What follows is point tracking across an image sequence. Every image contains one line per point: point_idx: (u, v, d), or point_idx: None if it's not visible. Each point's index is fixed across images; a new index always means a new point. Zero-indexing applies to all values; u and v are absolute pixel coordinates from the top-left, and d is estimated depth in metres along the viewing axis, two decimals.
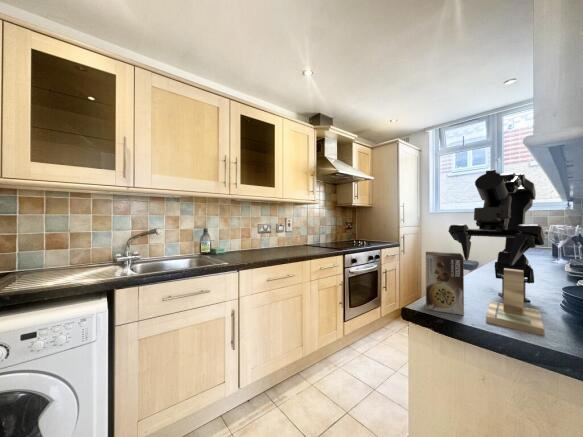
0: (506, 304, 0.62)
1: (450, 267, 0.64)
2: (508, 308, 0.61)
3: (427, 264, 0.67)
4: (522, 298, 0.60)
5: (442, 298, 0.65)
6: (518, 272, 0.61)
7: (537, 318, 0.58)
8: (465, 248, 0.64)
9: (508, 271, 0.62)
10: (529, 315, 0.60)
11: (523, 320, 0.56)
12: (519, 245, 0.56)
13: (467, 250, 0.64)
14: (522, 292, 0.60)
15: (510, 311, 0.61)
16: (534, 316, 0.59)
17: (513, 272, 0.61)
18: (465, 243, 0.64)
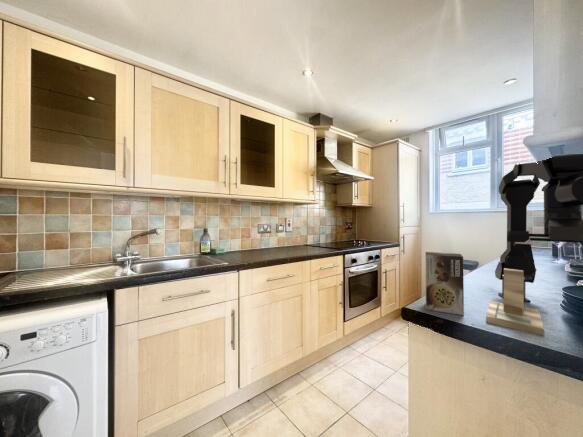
0: (506, 304, 0.62)
1: (450, 267, 0.64)
2: (508, 308, 0.61)
3: (427, 264, 0.67)
4: (522, 298, 0.60)
5: (442, 298, 0.65)
6: (518, 272, 0.61)
7: (537, 318, 0.58)
8: (532, 260, 0.56)
9: (508, 271, 0.62)
10: (529, 315, 0.60)
11: (523, 320, 0.56)
12: None
13: (533, 261, 0.57)
14: (522, 292, 0.60)
15: (510, 311, 0.61)
16: (534, 316, 0.59)
17: (513, 272, 0.61)
18: (531, 255, 0.56)
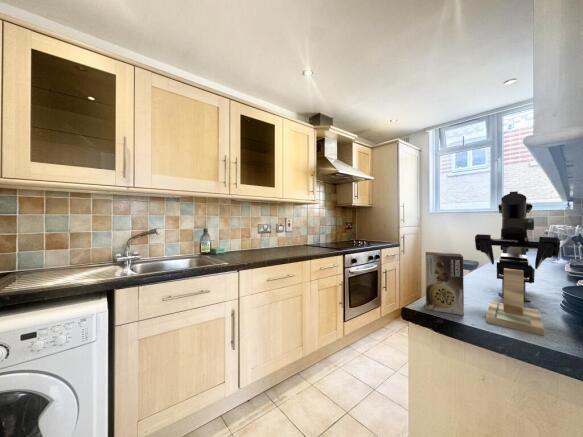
0: (506, 304, 0.62)
1: (450, 267, 0.64)
2: (508, 308, 0.61)
3: (427, 264, 0.67)
4: (522, 298, 0.60)
5: (442, 298, 0.65)
6: (518, 272, 0.61)
7: (537, 318, 0.58)
8: (491, 254, 0.73)
9: (508, 271, 0.62)
10: (529, 315, 0.60)
11: (523, 320, 0.56)
12: (542, 252, 0.66)
13: (493, 256, 0.73)
14: (522, 292, 0.60)
15: (510, 311, 0.61)
16: (534, 316, 0.59)
17: (513, 272, 0.61)
18: (491, 250, 0.73)
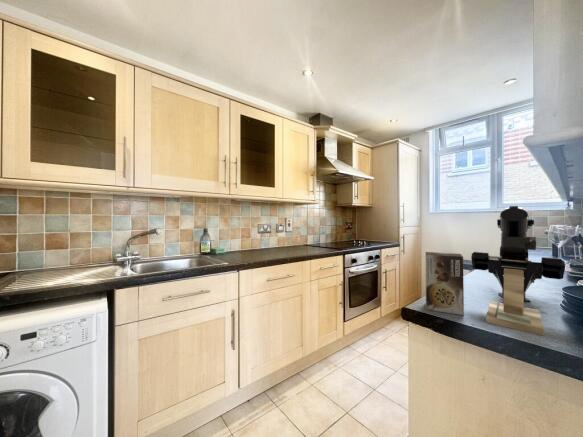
0: (506, 304, 0.62)
1: (450, 267, 0.64)
2: (508, 308, 0.61)
3: (427, 264, 0.67)
4: (522, 298, 0.60)
5: (442, 298, 0.65)
6: (518, 272, 0.61)
7: (537, 318, 0.58)
8: (501, 276, 0.65)
9: (508, 271, 0.62)
10: (529, 315, 0.60)
11: (523, 320, 0.56)
12: (531, 274, 0.61)
13: (503, 278, 0.65)
14: (522, 292, 0.60)
15: (510, 311, 0.61)
16: (534, 316, 0.59)
17: (513, 272, 0.61)
18: (501, 271, 0.65)
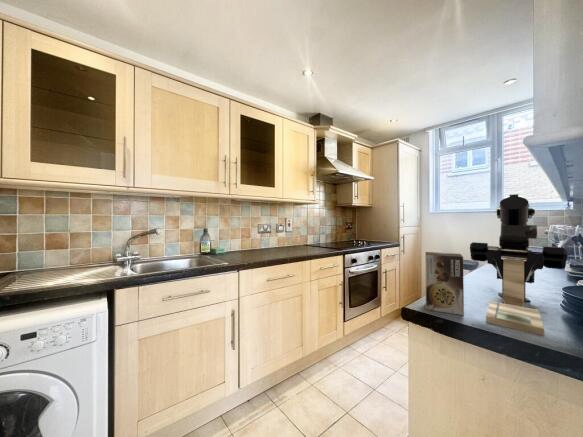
0: (506, 295, 0.60)
1: (450, 267, 0.64)
2: (508, 299, 0.59)
3: (427, 264, 0.67)
4: (522, 288, 0.58)
5: (442, 298, 0.65)
6: (518, 261, 0.58)
7: (537, 318, 0.58)
8: (501, 266, 0.62)
9: (508, 260, 0.60)
10: (529, 315, 0.60)
11: (523, 320, 0.56)
12: (532, 263, 0.59)
13: (502, 269, 0.62)
14: (522, 282, 0.58)
15: (510, 302, 0.58)
16: (534, 316, 0.59)
17: (513, 261, 0.59)
18: (500, 261, 0.63)
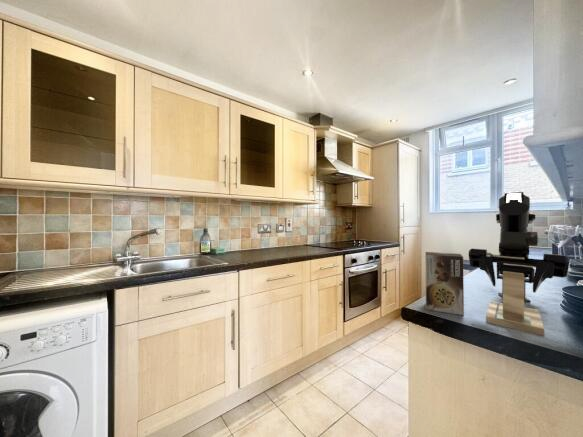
0: (505, 310, 0.58)
1: (450, 267, 0.64)
2: (508, 314, 0.57)
3: (427, 264, 0.67)
4: (523, 304, 0.56)
5: (442, 298, 0.65)
6: (518, 276, 0.56)
7: (537, 318, 0.58)
8: (493, 273, 0.61)
9: (507, 274, 0.58)
10: (529, 315, 0.60)
11: None
12: (541, 272, 0.56)
13: (494, 276, 0.61)
14: (523, 297, 0.56)
15: (510, 318, 0.56)
16: (534, 316, 0.59)
17: (513, 276, 0.57)
18: (492, 268, 0.62)
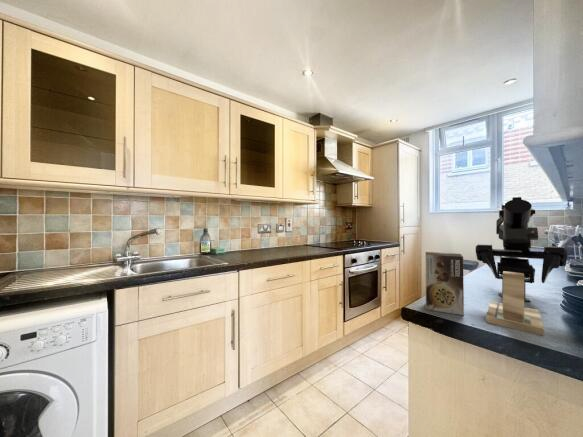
0: (505, 310, 0.58)
1: (450, 267, 0.64)
2: (508, 314, 0.57)
3: (427, 264, 0.67)
4: (523, 304, 0.56)
5: (442, 298, 0.65)
6: (518, 276, 0.56)
7: (537, 318, 0.58)
8: (494, 266, 0.68)
9: (507, 274, 0.58)
10: (529, 315, 0.60)
11: None
12: (548, 264, 0.61)
13: None
14: (523, 297, 0.56)
15: (510, 318, 0.56)
16: (534, 316, 0.59)
17: (513, 276, 0.57)
18: (494, 262, 0.69)
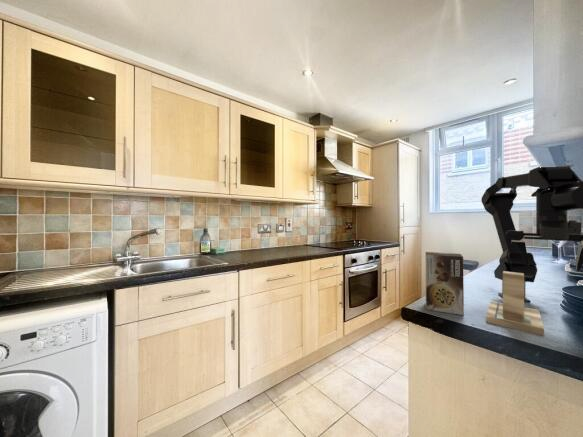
0: (505, 310, 0.58)
1: (450, 267, 0.64)
2: (508, 314, 0.57)
3: (427, 264, 0.67)
4: (523, 304, 0.56)
5: (442, 298, 0.65)
6: (518, 276, 0.56)
7: (537, 318, 0.58)
8: (526, 256, 0.66)
9: (507, 274, 0.58)
10: (529, 315, 0.60)
11: None
12: None
13: None
14: (523, 297, 0.56)
15: (510, 318, 0.56)
16: (534, 316, 0.59)
17: (513, 276, 0.57)
18: (525, 251, 0.66)
